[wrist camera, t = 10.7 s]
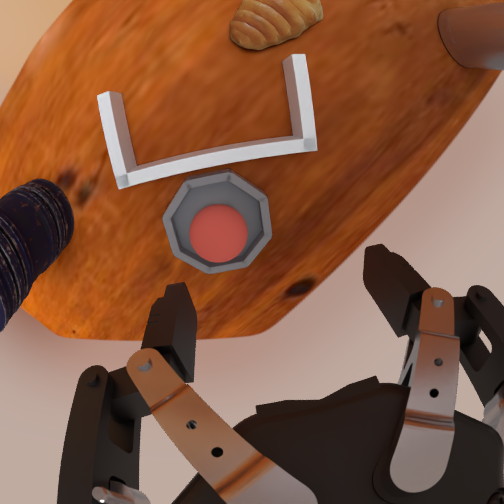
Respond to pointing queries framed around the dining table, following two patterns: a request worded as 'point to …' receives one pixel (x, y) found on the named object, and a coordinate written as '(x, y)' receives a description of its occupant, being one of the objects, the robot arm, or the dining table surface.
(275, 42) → the pastry
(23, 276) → the dark blue ridged cylinder
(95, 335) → the dining table surface
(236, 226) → the ball
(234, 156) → the white u-shaped bracket
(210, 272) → the dish
